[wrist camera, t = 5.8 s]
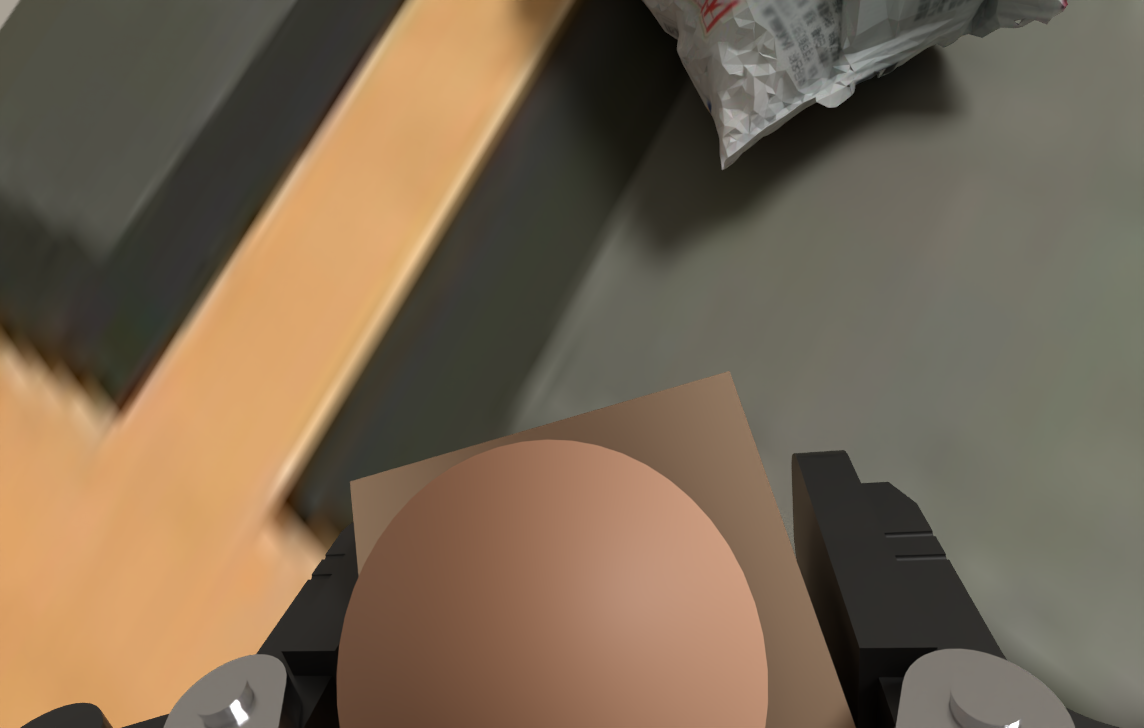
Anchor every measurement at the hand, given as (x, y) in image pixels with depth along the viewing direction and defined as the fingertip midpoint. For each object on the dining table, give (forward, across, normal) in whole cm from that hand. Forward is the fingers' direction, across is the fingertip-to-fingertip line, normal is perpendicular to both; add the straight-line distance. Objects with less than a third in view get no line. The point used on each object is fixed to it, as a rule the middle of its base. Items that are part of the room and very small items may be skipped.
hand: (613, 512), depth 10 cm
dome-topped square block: (+2, 0, +4) cm, 5 cm away
